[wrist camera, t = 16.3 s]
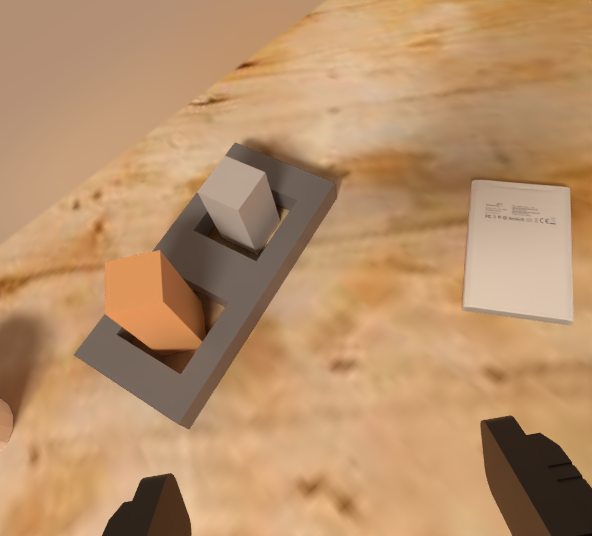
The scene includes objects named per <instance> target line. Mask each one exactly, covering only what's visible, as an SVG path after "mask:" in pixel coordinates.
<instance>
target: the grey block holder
mask: <svg viewBox="0 0 592 536" xmlns="http://www.w3.org/2000/svg"><path fill="white" fill-rule="evenodd" d="M335 200H336V189H335V183H334V182H332V181H329V180H327V179H324V178H322V177H319V176H317V175H314V174H312V173H309V172H307V171H305V170H302V169H300V168H297V167H295V166H292V165H290V164H287V163H285V162H282V161H280V160H277V159H275V158H272V157H270V156H267V155H265V154H263V153H260V152H258V151H255V150H253V149H250V148H248V147H245V146H243V145H240V144H238V143H234V145H233V146H232V147H231V148H230V150H229V151H228V152H227V154H226V155H225V156H224V158H223V159H222V160H221V162H220V163H219V164H218V166H217V167H216V168H215V169H214V171H213V172H212V173H211V175H210V176H209V177H208V179H207V180H206V181H205V183H204V184H203V185H202V187H201V188H200V189H199V191H198V192H197V193H196V195H195V196H194V197H193V199H192V200H191V201H190V202H189V204H188V205H187V206H186V208H185V209H184V210H183V212H182V213H181V214H180V216H179V217H178V218H177V220H176V221H175V222H174V224H173V225H172V226H171V227H170V229H169V230H168V231H167V233H166V234H165V235H164V237H163V238H162V239H161V241H160V242H159V243H158V245H157V246H156V247H155V249H154V250H153V251H152V252H154V251H158V250H160V251H161V252H162V253H163V254H164V256H165V257H166V258H167V259H168V261H169V262H170V263H171V264H172V266H173V267H174V268H175V269H176V271H177V272H178V273H179V274H180V276H181V277H182V278H183V279H184V281H185V282H186V283H187V284H188V286H189V287H190V288H191V289H193V290H195V291H196V292H198V293H200V294H202V295H204V296H206V297H207V298H209V299H211V300H213V301H215V302H217V303H219V304H220V305H222V306H224V307H225V309H224V310H223V312H222V313H221V315H220V316H219V318H218V319H217V321H216V322H215V324H214V325H213V327H212V328H211V330H210V331H209V333H208V334H207V336H206V337H205V339H204V340H203V342H202V343H201V345H200V346H199V348H198V349H197V351H196V352H195V354H194V355H193V357H192V358H191V360H190V361H189V363H188V364H187V366H186V367H185V369H184V370H183V372H182V373H181V374H179V373H178V372H176V371H174V370H173V369H171V368H169V367H168V366H166V365H165V364H163V363H161V362H160V361H158V360H157V359H155V358H153V357H152V356H150V355H149V354H147V353H145V352H144V351H142V350H140V349H139V348H137V347H136V346H134V345H132V344H131V343H130V342H131V341H132V340H133V338H134V337H135V336H134V335H132V334H131V333H130V332H128V331H127V330H126V329H124V328H123V327H122V326H120V325H119V324H118V323H116V322H115V321H114V320H112V319H111V318H110V317H108V316H107V315H106V314H104V316H103V317H102V318H101V320H100V321H99V322H98V324H97V325H96V326H95V328H94V329H93V330H92V332H91V333H90V334H89V336H88V337H87V338H86V339H85V341H84V342H83V343H82V345H81V346H80V347H79V349H78V350H77V351H76V353H75V354H74V355H75V356H76V357H78V358H79V359H81V360H82V361H84V362H85V363H87V364H88V365H90V366H91V367H93V368H94V369H96V370H97V371H99V372H100V373H102V374H103V375H105V376H106V377H108V378H109V379H111V380H112V381H114V382H115V383H117V384H118V385H120V386H121V387H123V388H124V389H126V390H127V391H129V392H130V393H132V394H133V395H135V396H136V397H138V398H139V399H141V400H142V401H144V402H145V403H147V404H148V405H150V406H151V407H153V408H154V409H156V410H157V411H159V412H160V413H162V414H163V415H165V416H166V417H168V418H169V419H171V420H173V421H174V422H176V423H177V424H179V425H181V426H183V427H185V428H187V429H190V427H191V426H192V424H193V423H194V421H195V419H196V418H197V416H198V415H199V413H200V412H201V410H202V408H203V407H204V405H205V404H206V402H207V401H208V399H209V397H210V396H211V394H212V393H213V391H214V390H215V388H216V387H217V385H218V383H219V382H220V380H221V379H222V377H223V376H224V374H225V372H226V371H227V369H228V368H229V366H230V365H231V363H232V361H233V360H234V358H235V357H236V355H237V354H238V352H239V350H240V349H241V347H242V346H243V344H244V343H245V341H246V339H247V338H248V336H249V335H250V333H251V332H252V330H253V329H254V327H255V325H256V324H257V322H258V321H259V319H260V318H261V316H262V314H263V313H264V311H265V310H266V308H267V307H268V305H269V303H270V302H271V300H272V299H273V297H274V296H275V294H276V292H277V291H278V289H279V288H280V286H281V285H282V283H283V282H284V280H285V278H286V277H287V275H288V274H289V272H290V271H291V269H292V267H293V266H294V264H295V263H296V261H297V260H298V258H299V256H300V255H301V253H302V252H303V250H304V249H305V247H306V245H307V244H308V242H309V241H310V239H311V238H312V236H313V234H314V233H315V231H316V230H317V228H318V227H319V225H320V224H321V222H322V220H323V219H324V217H325V216H326V214H327V213H328V211H329V209H330V208H331V206H332V205H333V203H334V202H335ZM275 204H276V205H278V206H281V207H283V208H285V209H287V210H290V212H289V213H288V215H287V216H286V218H285V219H284V221H283V222H282V224H281V225H280V227H279V228H278V230H277V231H276V233H275V234H274V236H273V237H272V239H271V240H270V242H269V243H268V245H267V246H266V248H265V249H264V251H263V252H262V254H261V255H260V257H259V258H258V260H257V261H255V260H253V259H251V258H249V257H246V256H244V255H242V254H240V253H238V252H236V251H234V250H232V249H230V248H228V247H226V246H224V245H222V244H220V243H218V242H216V241H214V240H212V239H210V238H208V237H207V236H208V235H209V233H210V232H211V230H212V229H213V228H214V226H216V228H217V229H218V231H219V233H220V235H221V237H222V238H223V239H225V240H227V241H229V242H231V243H234V244H236V245H238V246H240V247H242V248H244V249H246V250H248V251H250V252H252V253H254V254H256V255H258V254H259V252H260V251H261V249H262V248H263V246H264V245H265V243H266V242H267V240H268V239H269V237H270V236H271V234H272V233H273V231H274V230H275V228H276V227H277V225H278V224H279V222H280V219H279V215H278V212H277V209H276V206H275Z"/></svg>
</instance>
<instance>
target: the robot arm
mask: <svg viewBox="0 0 592 536" xmlns="http://www.w3.org/2000/svg"><path fill="white" fill-rule="evenodd" d="M481 436H482V445H483V455H484V465H485V472H486V477H487V481H488V484H489V487H490V490H491V493H492V495H493V497H494V499H495V501H496V503H497V505H498V507H499V509H500V511H501V513H502V515H503V517H504V519H505V521H506V523H507V525H508V528H509V530H510V532H511V534H512V536H592V488H591V487H590V485H589V484H588V483H587V481H586V480H585V479H583V477H582V475H581V474H580V472H579V471H578V470H577V468H576V467H575V466H574V465H572V462H571V460H570V459H569V458H568V456H567V455H566V454H565V452H564V451H563V450H562V448H561V447H560V446H559V445H558V444H556V443H555V442H553V441H552V440H550V439H549V438H547V437H546V436H544V435H543V434H541V433H536V434H530V435H526V434H525V433H524V431H523V430H522V428H521V427H520V425H519V424H518V423H517V421H516V420H515V418H514V417H513V416H505V417H499V418H494V419H488V420H482V421H481ZM102 536H191V523H190V518H189V515H188V512H187V509H186V507H185V504H184V501H183V498H182V495H181V493H180V490H179V487H178V484H177V481H176V479H175V477H174V475H173V474H171V473H170V474H164V475H158V476H152V477H146V478H143V479H142V480H141V481H140V483H139V486H138V488H137V491H136V493H135V496H134V498H133V501H130V502H124V503H123V504H122V505H121V506H120V508H119V509H118V510H117V511H116V512H115V513H114V515H113V516H112V517H111V518H110V519H109V521H108V523H107V526H106V528H105V530H104V532H103V535H102Z"/></svg>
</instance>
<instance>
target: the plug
mask: <svg viewBox="0 0 592 536" xmlns="http://www.w3.org/2000/svg"><path fill="white" fill-rule="evenodd" d="M105 314H106V315H107V316H108V317H110V318H111V319H112V320H114V321H115V322H116V323H118V324H119V325H120V326H122V327H123V328H124V329H126V330H127V331H128V332H130V333H131V334H132V335H134V336H135V337H136V338H138V339H139V340H140V341H142V342H143V343H144V344H146V345H147V346H148V347H150V348H151V349H152V350H154V351H155V352H156V353H158V354H159V355H160V356H164V355H169V354H174V353H178V352H183V351H187V350H192V349H197V348H199V346H200V345H201V343H202V342H203V340H204V339H205V337H206V332H205V322H204V312H203V303H202V302H201V301H200V299H199V298H198V297H197V296H196V294H195V293H194V292H193V291H192V289H191V288H190V287H189V286H188V284H187V283H186V282H185V281H184V279H183V278H182V277H181V276H180V274H179V273H178V272H177V271H176V269H175V268H174V267H173V266H172V264H171V263H170V262H169V261H168V259H167V258H166V257H165V256H164V254H163V253H162V252H161V251H160V250H158V251H154V252H149V253H145V254H140V255H136V256H131V257H127V258H123V259H118V260H114V261H109V262H105Z"/></svg>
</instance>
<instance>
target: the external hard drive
mask: <svg viewBox="0 0 592 536" xmlns="http://www.w3.org/2000/svg"><path fill="white" fill-rule="evenodd" d="M462 311H469V312H476V313H484V314H491V315H498V316H505V317H513V318H520V319H527V320H534V321H541V322H549V323H556V324H563V325H571V324H572V323H573V322H574V312H573V276H572V241H571V206H570V188H568V187H563V186H551V185H537V184H525V183H514V182H502V181H491V180H472V183H471V189H470V202H469V215H468V228H467V241H466V255H465V269H464V283H463V296H462Z"/></svg>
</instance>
